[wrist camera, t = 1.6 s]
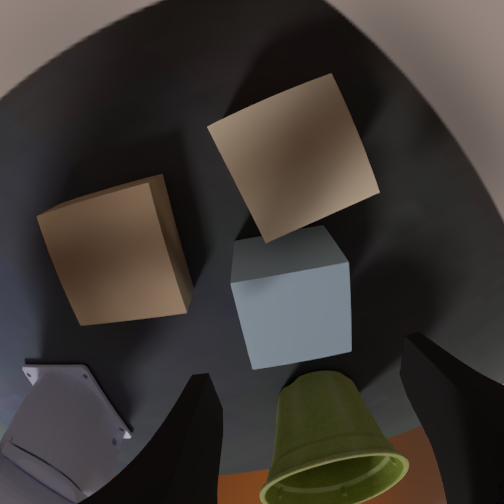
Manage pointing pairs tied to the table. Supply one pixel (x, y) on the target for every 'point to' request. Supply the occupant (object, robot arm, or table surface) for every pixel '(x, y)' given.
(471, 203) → the table surface
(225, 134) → the beech cube
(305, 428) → the plant pot
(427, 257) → the table surface
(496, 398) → the robot arm
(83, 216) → the oak block
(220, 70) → the table surface
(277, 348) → the grey cube
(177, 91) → the table surface
